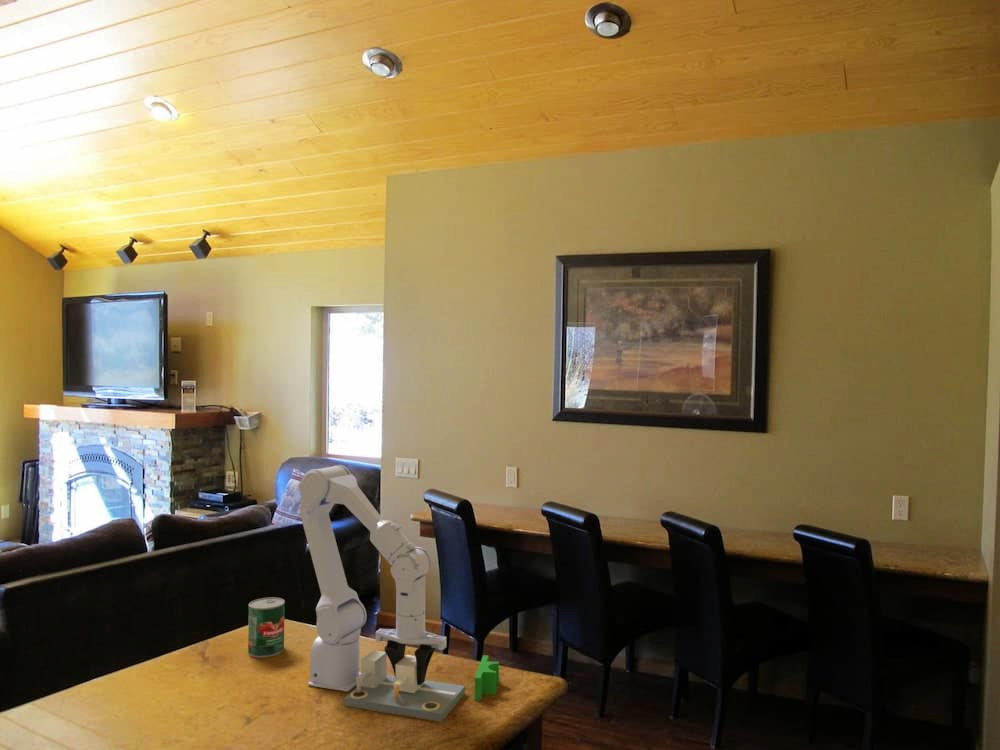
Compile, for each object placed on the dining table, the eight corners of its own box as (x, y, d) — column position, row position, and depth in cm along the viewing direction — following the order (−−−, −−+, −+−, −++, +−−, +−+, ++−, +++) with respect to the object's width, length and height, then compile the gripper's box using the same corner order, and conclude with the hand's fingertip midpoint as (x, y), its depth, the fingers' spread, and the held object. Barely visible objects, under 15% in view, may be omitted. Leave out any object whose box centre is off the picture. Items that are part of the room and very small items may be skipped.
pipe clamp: (493, 702, 131) (493, 679, 131) (474, 701, 131) (474, 677, 131) (500, 677, 142) (500, 655, 142) (483, 676, 143) (483, 654, 143)
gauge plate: (344, 705, 129) (344, 670, 129) (374, 679, 140) (374, 647, 140) (441, 722, 123) (441, 684, 123) (464, 693, 134) (465, 659, 134)
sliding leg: (386, 699, 128) (386, 672, 128) (406, 679, 136) (406, 654, 137) (405, 702, 127) (405, 675, 127) (424, 682, 135) (425, 657, 135)
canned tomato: (271, 659, 151) (272, 609, 151) (240, 655, 153) (241, 606, 153) (290, 646, 158) (291, 598, 159) (260, 642, 160) (261, 596, 160)
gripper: (452, 609, 135) (452, 677, 135) (387, 602, 140) (386, 668, 140) (438, 621, 129) (438, 693, 128) (370, 612, 133) (369, 682, 133)
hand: (410, 681), depth 134 cm, fingers closed on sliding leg, 4 cm apart
